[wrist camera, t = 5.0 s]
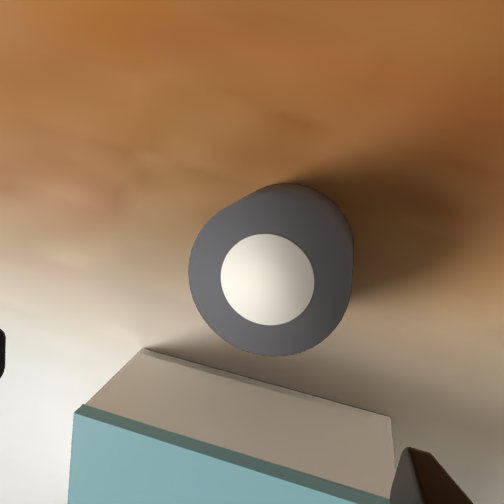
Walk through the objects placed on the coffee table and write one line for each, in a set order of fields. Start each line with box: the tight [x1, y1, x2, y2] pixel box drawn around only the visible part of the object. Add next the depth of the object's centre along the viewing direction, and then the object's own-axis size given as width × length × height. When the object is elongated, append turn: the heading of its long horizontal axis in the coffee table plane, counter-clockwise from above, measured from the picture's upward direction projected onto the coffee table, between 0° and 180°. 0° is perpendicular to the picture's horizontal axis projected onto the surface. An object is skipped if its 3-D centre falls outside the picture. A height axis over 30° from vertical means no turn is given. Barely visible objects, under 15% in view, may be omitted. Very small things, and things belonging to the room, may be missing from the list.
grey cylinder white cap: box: [188, 183, 354, 356], centre depth 18 cm, size 6×6×5 cm
